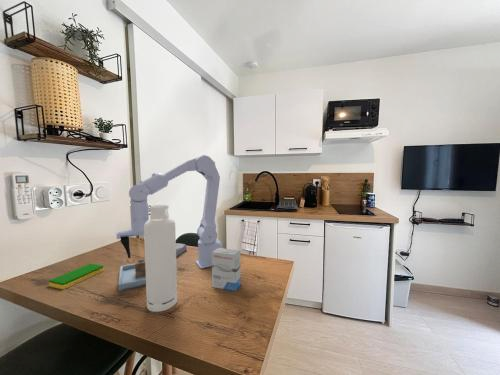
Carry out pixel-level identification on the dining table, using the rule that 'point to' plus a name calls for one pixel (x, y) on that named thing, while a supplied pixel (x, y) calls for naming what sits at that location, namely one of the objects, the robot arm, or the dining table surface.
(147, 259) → the bottle
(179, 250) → the stone block
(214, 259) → the ink box
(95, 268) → the dish sponge
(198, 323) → the dining table surface
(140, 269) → the walnut block
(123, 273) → the tray
